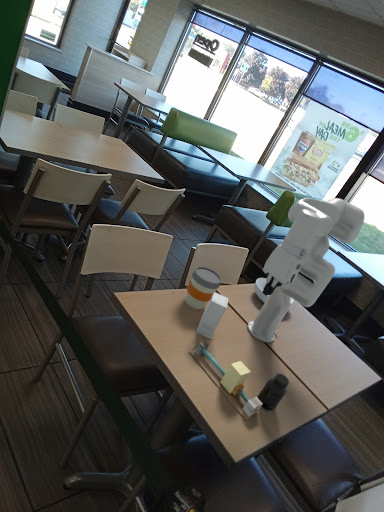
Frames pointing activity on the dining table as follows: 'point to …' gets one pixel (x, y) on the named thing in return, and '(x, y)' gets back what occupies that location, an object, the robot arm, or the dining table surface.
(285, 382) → the supplement bottle
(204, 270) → the reusable coffee cup
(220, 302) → the skincare box
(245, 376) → the pale yellow block
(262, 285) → the serving bowl
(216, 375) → the cable board
